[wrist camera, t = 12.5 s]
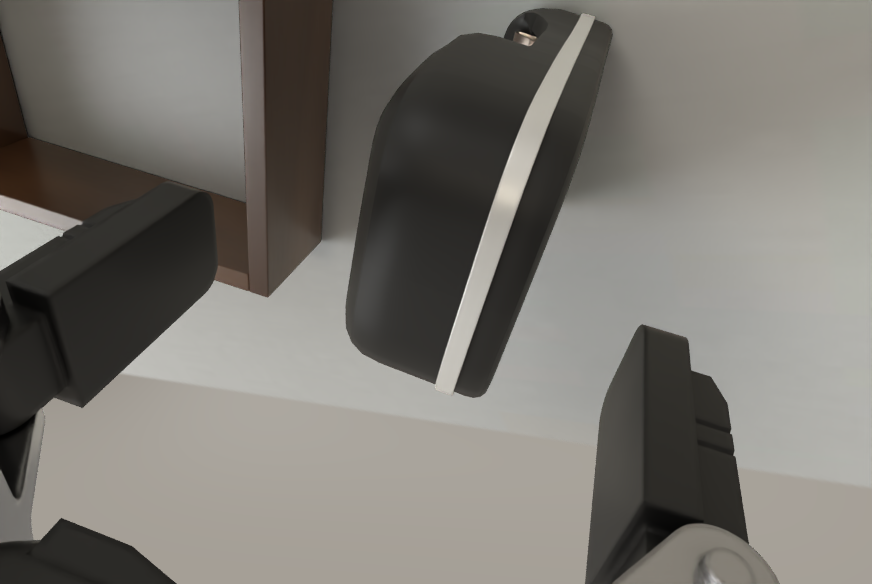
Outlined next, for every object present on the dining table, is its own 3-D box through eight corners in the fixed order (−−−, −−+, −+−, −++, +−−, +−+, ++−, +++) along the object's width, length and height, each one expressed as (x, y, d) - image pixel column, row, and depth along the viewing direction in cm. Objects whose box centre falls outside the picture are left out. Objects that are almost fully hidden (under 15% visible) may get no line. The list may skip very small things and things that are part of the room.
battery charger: (500, -21, 18) (350, 69, 9) (620, 15, 18) (587, 147, 9) (448, 180, 22) (309, 378, 13) (544, 213, 22) (469, 440, 13)
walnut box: (18, 148, 28) (-74, 185, 25) (-87, -230, 20) (-247, -255, 16) (321, 241, 26) (268, 298, 22) (340, -142, 18) (261, -149, 14)
